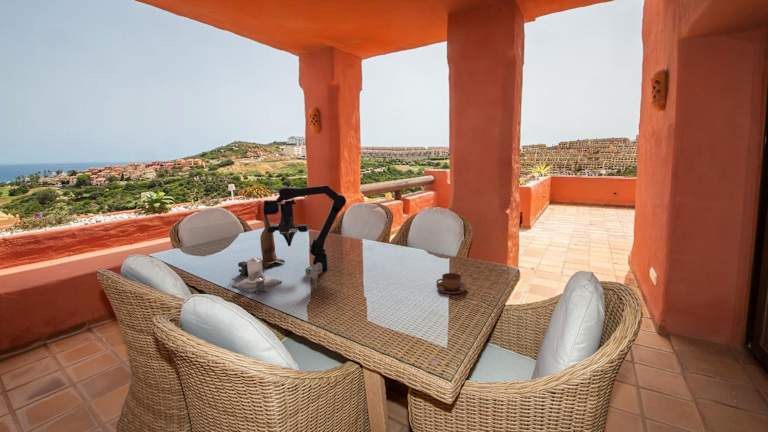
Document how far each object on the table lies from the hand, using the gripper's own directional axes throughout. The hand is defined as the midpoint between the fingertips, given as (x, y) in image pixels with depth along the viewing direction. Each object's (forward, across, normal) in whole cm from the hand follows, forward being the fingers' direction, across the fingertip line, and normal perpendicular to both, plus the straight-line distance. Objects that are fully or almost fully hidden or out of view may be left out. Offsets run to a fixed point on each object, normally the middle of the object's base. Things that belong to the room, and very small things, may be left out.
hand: (289, 246), depth 166 cm
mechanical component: (+13, +16, -23) cm, 31 cm away
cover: (+11, -11, -16) cm, 23 cm away
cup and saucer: (+13, +72, -29) cm, 79 cm away
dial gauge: (+13, -6, -26) cm, 29 cm away
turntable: (+13, -11, -16) cm, 23 cm away
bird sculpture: (+13, -15, +13) cm, 24 cm away
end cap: (+13, -19, -1) cm, 23 cm away
